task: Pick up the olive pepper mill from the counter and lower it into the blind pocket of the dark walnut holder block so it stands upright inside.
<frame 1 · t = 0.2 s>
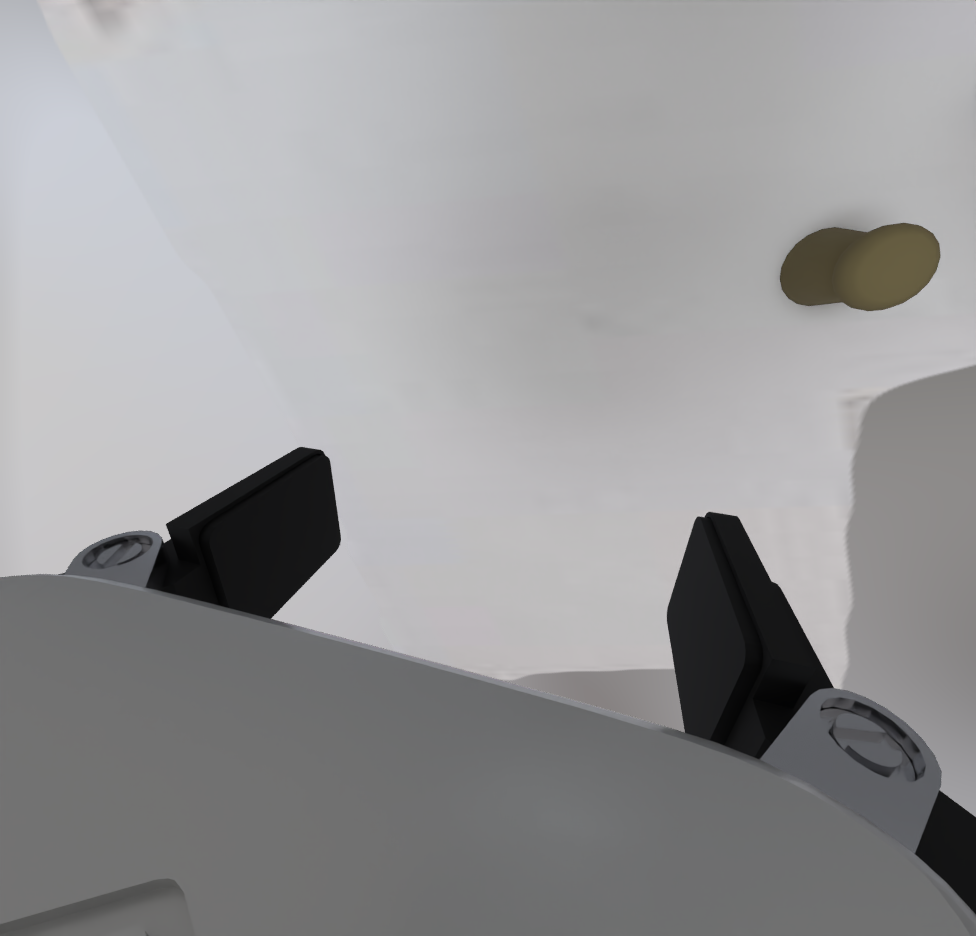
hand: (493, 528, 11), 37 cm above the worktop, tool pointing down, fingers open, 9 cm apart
olive pepper mill: (820, 268, 36), on the worktop
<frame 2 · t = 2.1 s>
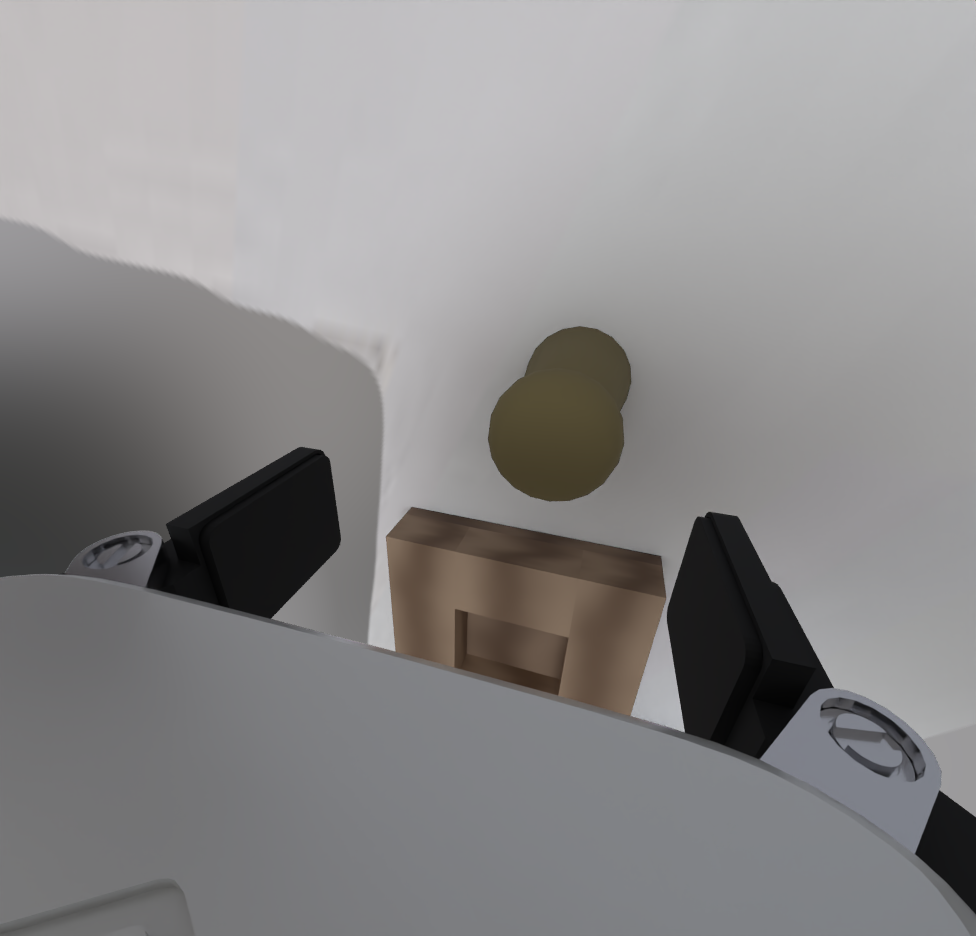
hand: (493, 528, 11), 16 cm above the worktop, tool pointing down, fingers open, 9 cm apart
walnut holder: (518, 622, 34), on the worktop
olive pepper mill: (577, 379, 24), on the worktop
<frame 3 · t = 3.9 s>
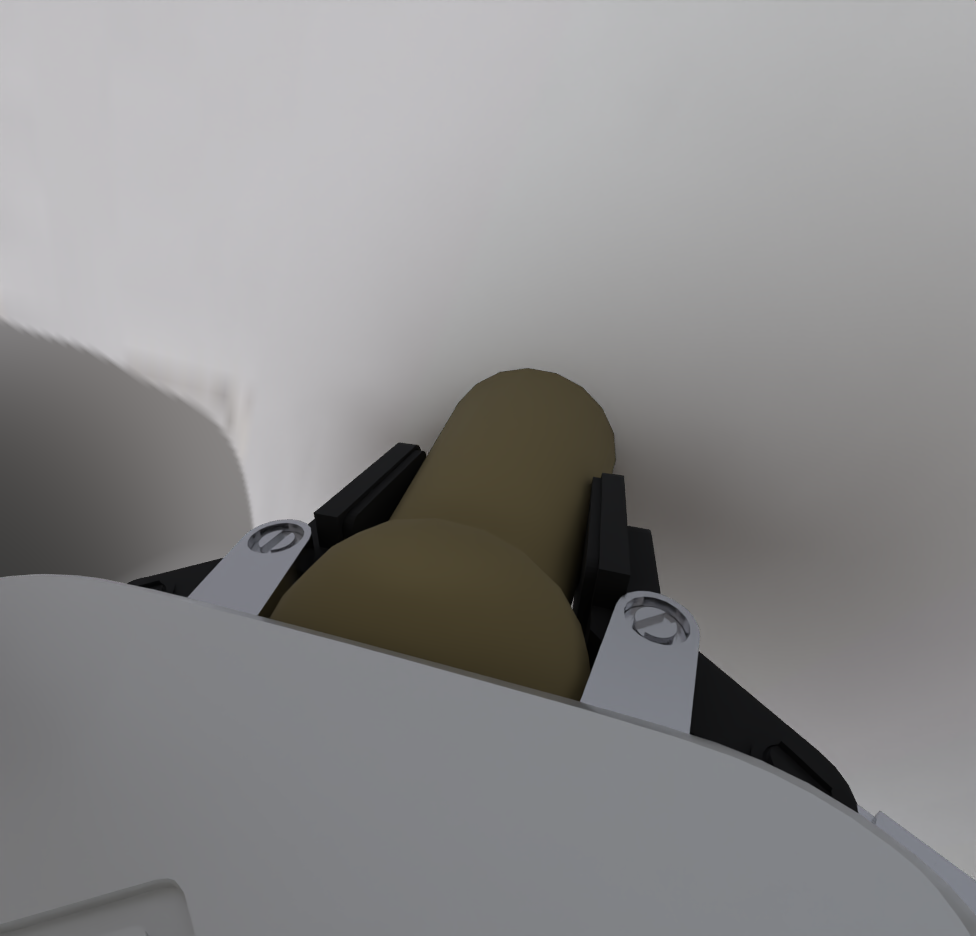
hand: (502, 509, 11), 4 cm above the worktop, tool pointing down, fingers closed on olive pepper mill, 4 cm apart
olive pepper mill: (528, 451, 15), on the worktop, touching gripper
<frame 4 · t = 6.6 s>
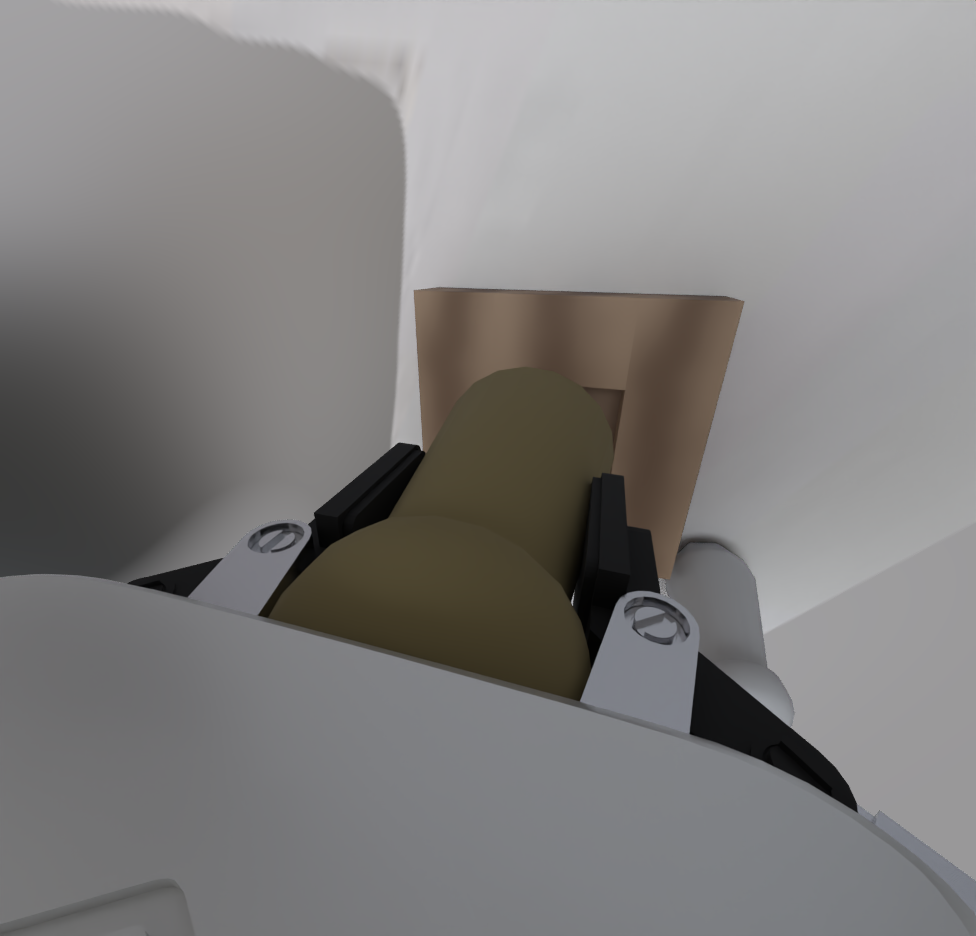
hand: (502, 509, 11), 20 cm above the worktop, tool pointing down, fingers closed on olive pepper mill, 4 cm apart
salt shaker: (701, 561, 32), on the worktop
walnut holder: (557, 424, 30), on the worktop
olive pepper mill: (526, 450, 15), point 15 cm above the worktop, touching gripper
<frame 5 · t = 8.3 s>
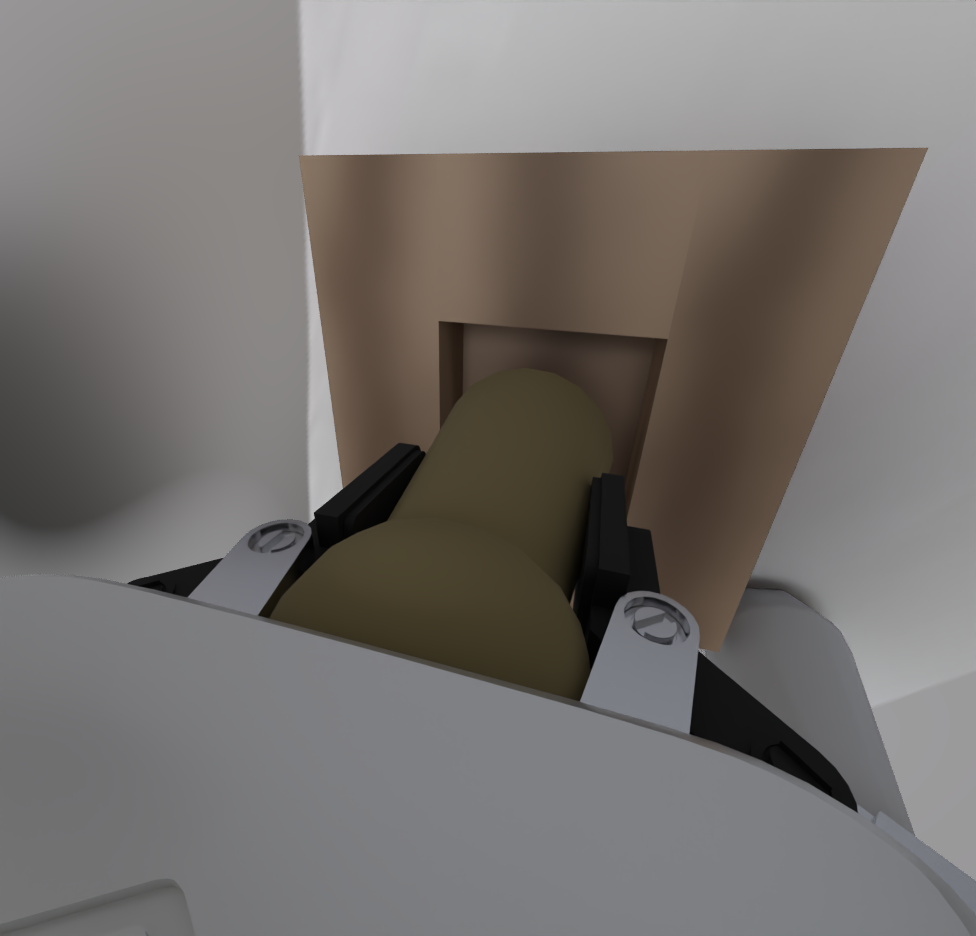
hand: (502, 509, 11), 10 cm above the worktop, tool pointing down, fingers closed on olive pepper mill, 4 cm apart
salt shaker: (757, 614, 22), on the worktop
walnut holder: (549, 406, 20), on the worktop
olive pepper mill: (525, 451, 15), point 6 cm above the worktop, touching gripper
when the fingers open (6 cm above the worktop, at t = 9.4 s): olive pepper mill stays where it is, resting on walnut holder.
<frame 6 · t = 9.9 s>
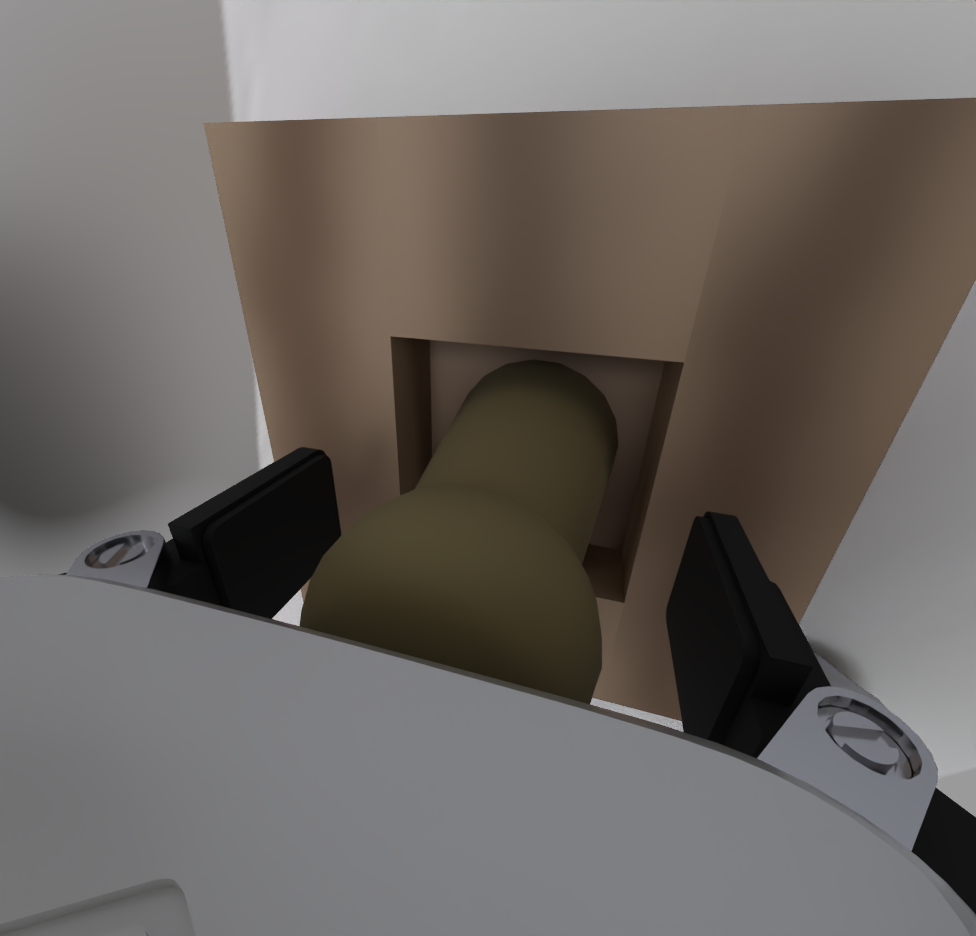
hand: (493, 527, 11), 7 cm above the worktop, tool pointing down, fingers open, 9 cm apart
salt shaker: (781, 676, 19), on the worktop
walnut holder: (535, 434, 16), on the worktop
olive pepper mill: (534, 439, 16), point 1 cm above the worktop, touching walnut holder
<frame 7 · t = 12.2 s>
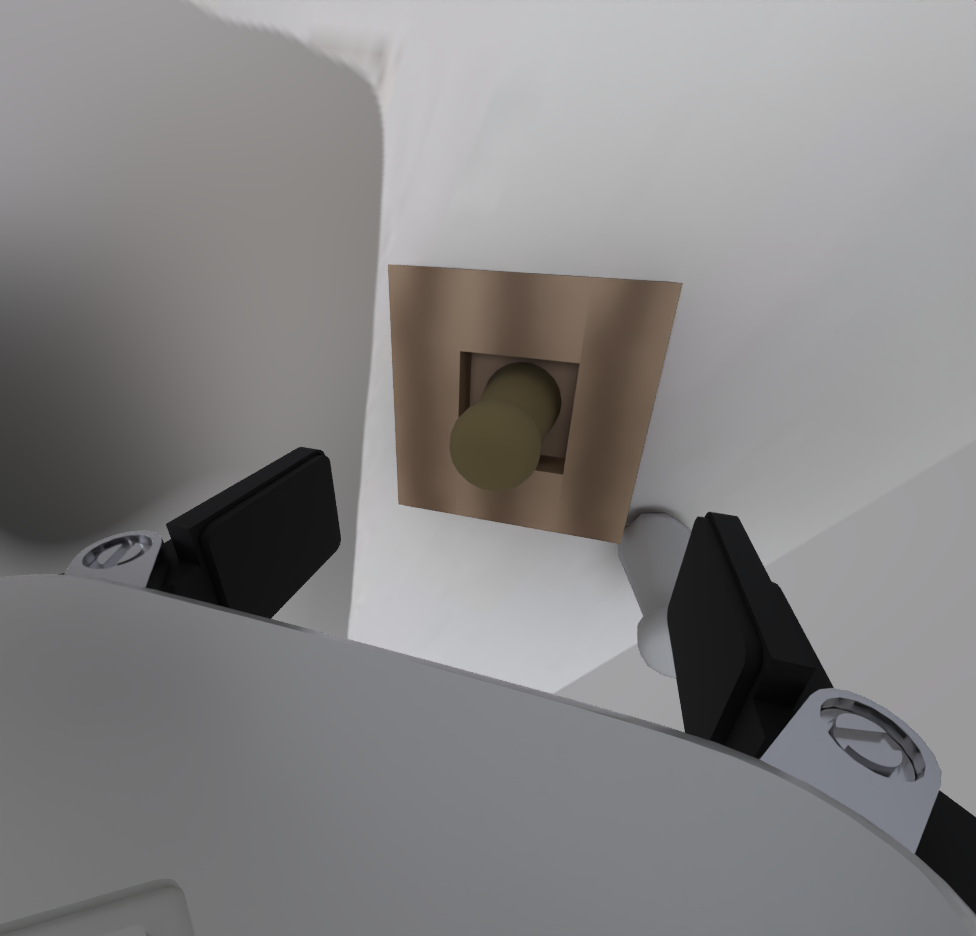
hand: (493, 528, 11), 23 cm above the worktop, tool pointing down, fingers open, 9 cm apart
salt shaker: (652, 531, 35), on the worktop
walnut holder: (522, 399, 33), on the worktop
olive pepper mill: (522, 401, 32), point 1 cm above the worktop, touching walnut holder
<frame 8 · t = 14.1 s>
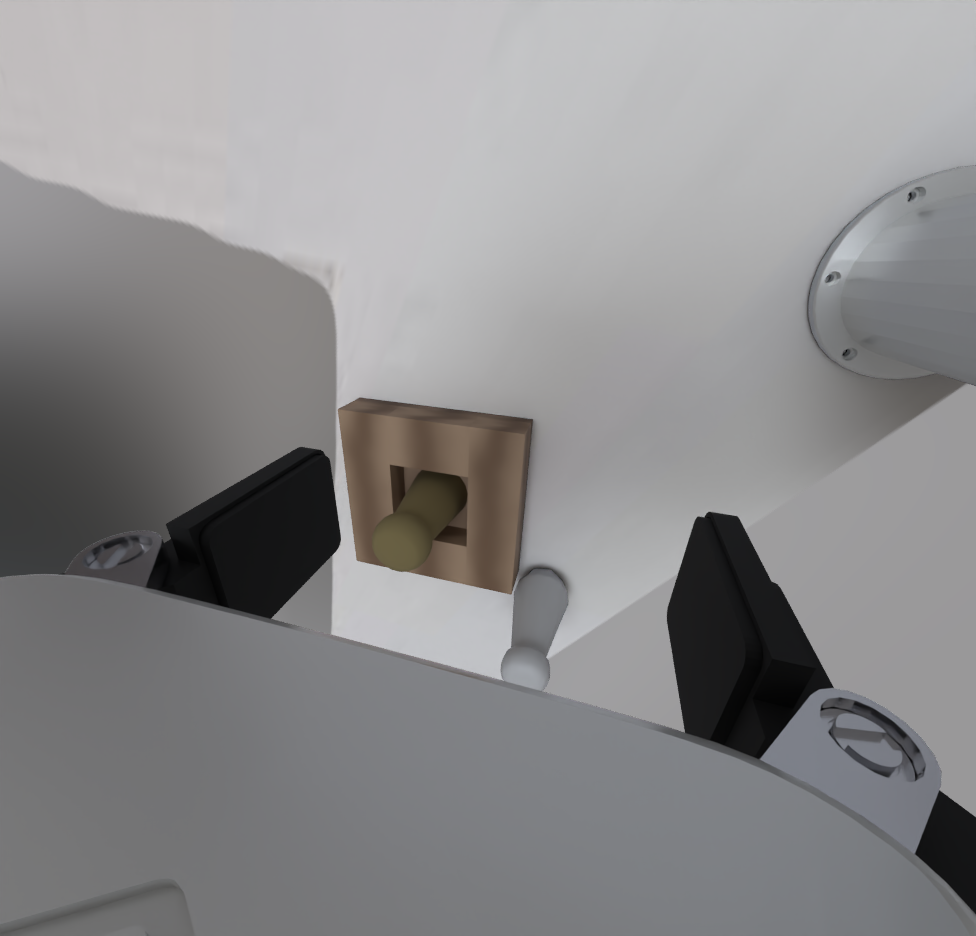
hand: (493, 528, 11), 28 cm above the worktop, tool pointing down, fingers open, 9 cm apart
salt shaker: (544, 581, 47), on the worktop
walnut holder: (443, 488, 45), on the worktop
olive pepper mill: (441, 490, 44), point 1 cm above the worktop, touching walnut holder
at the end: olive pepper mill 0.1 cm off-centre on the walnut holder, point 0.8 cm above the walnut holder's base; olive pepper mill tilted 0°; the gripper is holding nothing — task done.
